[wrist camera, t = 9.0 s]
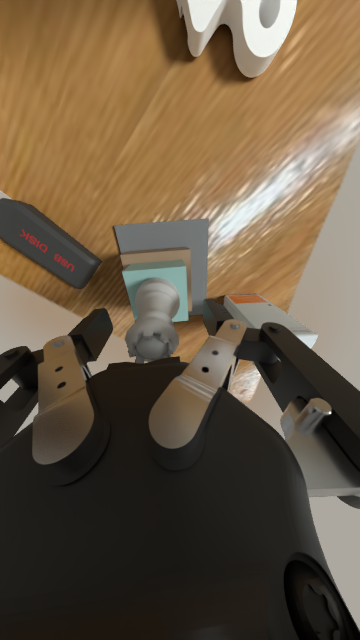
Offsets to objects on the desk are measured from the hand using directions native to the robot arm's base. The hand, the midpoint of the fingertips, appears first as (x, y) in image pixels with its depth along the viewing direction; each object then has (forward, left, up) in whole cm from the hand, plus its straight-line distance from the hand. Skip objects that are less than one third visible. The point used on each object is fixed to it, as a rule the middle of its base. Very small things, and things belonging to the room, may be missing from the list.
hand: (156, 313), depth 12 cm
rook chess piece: (0, 0, -4) cm, 4 cm away
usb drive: (-6, -14, -12) cm, 19 cm away
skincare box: (+6, +13, -12) cm, 19 cm away
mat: (0, +1, -12) cm, 12 cm away
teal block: (0, 0, -7) cm, 7 cm away
